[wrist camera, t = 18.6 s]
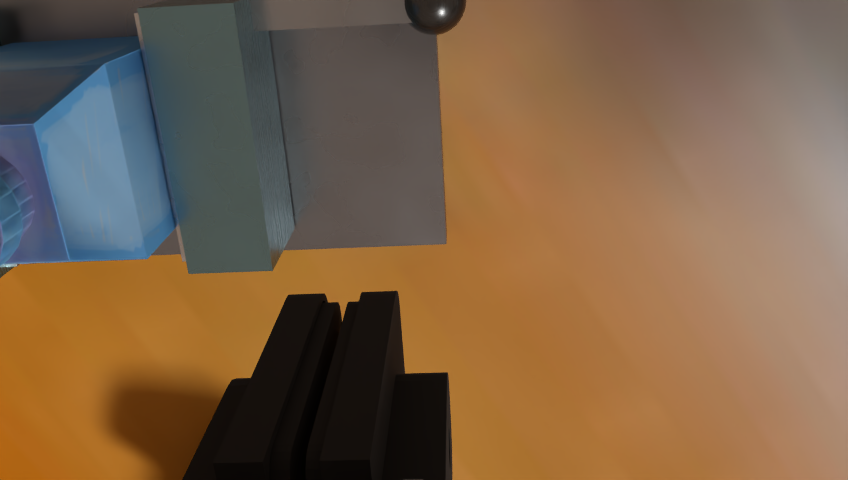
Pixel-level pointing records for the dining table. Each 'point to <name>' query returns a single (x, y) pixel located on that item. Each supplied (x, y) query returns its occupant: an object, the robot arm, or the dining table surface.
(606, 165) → the dining table surface
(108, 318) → the dining table surface
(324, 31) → the vise bed
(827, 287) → the dining table surface
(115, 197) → the perfume bottle
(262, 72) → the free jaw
